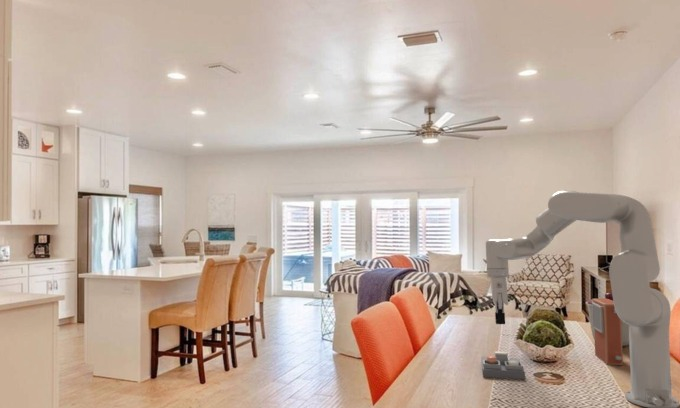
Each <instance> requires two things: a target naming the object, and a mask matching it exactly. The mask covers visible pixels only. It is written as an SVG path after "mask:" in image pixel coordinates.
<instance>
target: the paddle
mask: <svg viewBox="0 0 680 408" xmlns="http://www.w3.org/2000/svg"><path fill="white" fill-rule="evenodd" d="M494 356H495V357H496V360H497V361H500V363H505V362H504V361H508V356H509V355H508V352H507V351H496V350H495V351H494Z"/></svg>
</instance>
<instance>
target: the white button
mask: <svg viewBox="0 0 680 408" xmlns="http://www.w3.org/2000/svg"><path fill="white" fill-rule="evenodd" d="M508 363H509V365H517V366H519V362H518V361H514V360H510V361H508Z"/></svg>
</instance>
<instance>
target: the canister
mask: <svg viewBox="0 0 680 408" xmlns="http://www.w3.org/2000/svg"><path fill="white" fill-rule="evenodd" d="M593 299H594V298H592V299H589V300H588V301H585V305H586V306H587V311H588V316H589V317H588V318H589V324H590V330H591V335H592V339H593V340H594V341H595V337H594V328H593V314H592V303H593ZM596 299H609V300H611V301H613V295H612V292H606V293H605V294H604V298H603V297H602V298H601V297H599V298H596ZM629 328H630V325H628V324H626V323H624V322H623V321H622V325H621V329H622V347H625V346H628V345H629Z"/></svg>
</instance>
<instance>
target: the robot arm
mask: <svg viewBox="0 0 680 408" xmlns="http://www.w3.org/2000/svg"><path fill="white" fill-rule="evenodd" d="M576 221H581V222H583V221H584V222H590V223H597V224H598V223H601V224H602V223H603V224H604V223H605V224H608V223H609V224H610V223H615V224H618V226H619V231H618V232H619V234H618V235H619V238H618V239H619V243H620V250H621V252H619V253H617V254H616V255H615V256H614V257H613V258H612V259H611V261H610V264H609V269H608V271H609V273H608V274H609V282H610V287H611V293H612V295H613V302H614V307H615V311H616V313H617V315H618V317H619V318H620V319H621V320H622V321H623V322H624V323H626V324H628V325H630V328H629V344H628V345H629V349H628V350H629V365H630V367H629V370H630V389H629V390H626V391H625V394H624V395H625V399H626V400H627V401H629V402H630V403H632V404H635V405H638V406H640V407H645V408H679V407H680V402H679V400H678V399H677V398H676V397H675V396H672V394H673V393H672V380H671V379H672V378H671V377H672V375H671V353H670V352H671V351H670V344H671V343H670V323H671V304H670V301H669V300H668V298H667V296H666V295H665V294H664V293H663V292H661V291H660V290H658V289H655V288H652V287H651V285H650V282H651V283H652V282H653V281H655V280H656V279H657V278H658V277H659V275H660V270H661V269H660V268H661V267H660V263H659V257H658V251H657V246H656V240H655V236H654V229H653V223H652V217H651V215H650V213H649V210H648V209H647V207H646V206H645V205H644V204H643V203H642V202H640V201H639V200H637V199H635V198H633V197H630V196H626V195H621V194H615V193H610V194H609V193H596V192H582V191H581V192H580V191H577V190H576V191H575V190H574V191H573V190H559V191H557V192H555V193H553V194H552V195H551V196H550V198H549V199H548V203H547V208H546V209H545V210H543V211H542V212H541V213H539V214H538V215H537V216H536V218H535V223H536V227H534V229H532V230H531V231H530V232H529V233H528V234H526V235H525V236H523V237H515V238H501V239H500V238H494V239H493V238H492V239H487V240H486V241H485V257H486V260H485V261H486V276H487V277H486V278H490V285H491V286H490V287H491V289H490V290H491V298H492V302H493V304H494V305H495V313H494V319H495V324H496V325H506V314H505V305H506V306H508V305H509V299H508V296H509V295H508V283H507V278H509V277H510V273H509V261H515V260H526V259H530V258H532V257H533V256H536V255H537V254H539V253H540V252H541V251H542V250H544V249H545V248H546V247H548V246H549V245H550V244H551V242H552V241H553V240H554V238H555V237H556V236H557V235H559V234H560V233H561V232H562V231H563V230H565V229H566V228H567V227H569V226H571V225H573V224H574V223H575V222H576ZM504 304H505V305H504Z"/></svg>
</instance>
